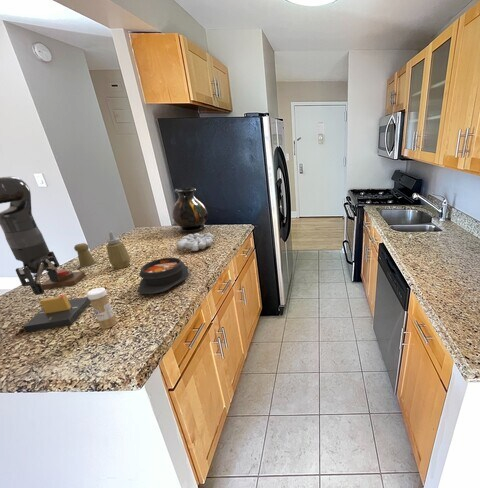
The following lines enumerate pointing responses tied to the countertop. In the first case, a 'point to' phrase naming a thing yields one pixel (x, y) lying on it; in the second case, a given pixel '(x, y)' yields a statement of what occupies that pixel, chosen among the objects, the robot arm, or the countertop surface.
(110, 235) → the squeeze bottle
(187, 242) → the grey lumpy cluster
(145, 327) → the countertop surface
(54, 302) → the yellow cheese wedge
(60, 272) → the button
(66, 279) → the button block
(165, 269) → the casserole
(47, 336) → the countertop surface
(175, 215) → the dark glazed vase
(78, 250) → the green pepper mill
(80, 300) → the dark slate board
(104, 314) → the sprinkles bottle
